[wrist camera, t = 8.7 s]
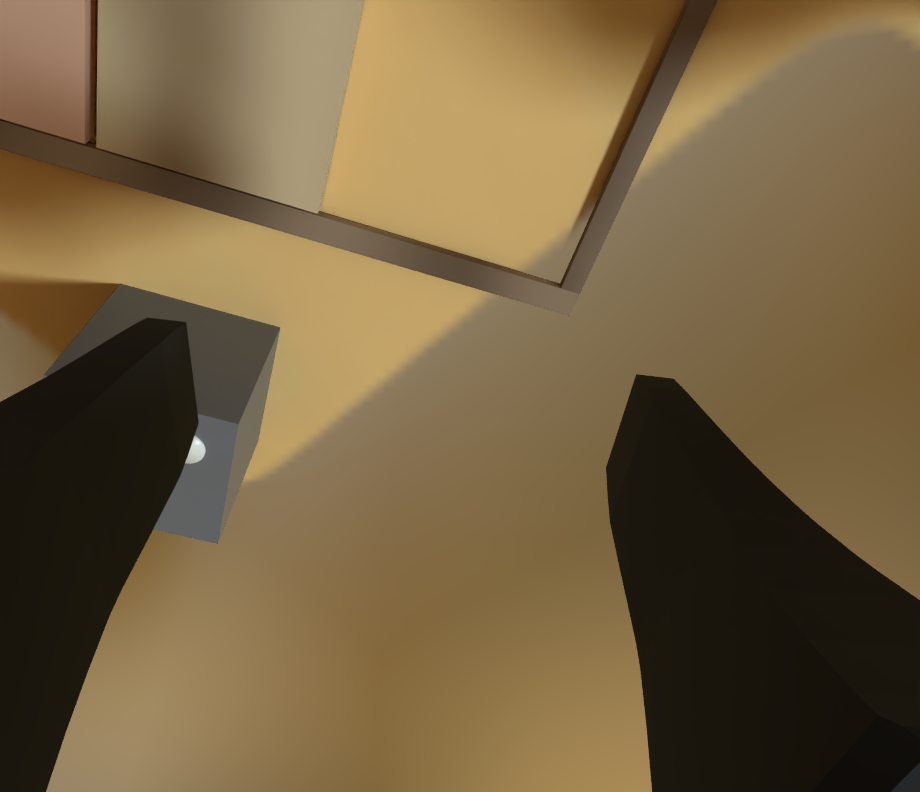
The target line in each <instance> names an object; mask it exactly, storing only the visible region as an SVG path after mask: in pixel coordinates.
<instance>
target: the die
mask: <svg viewBox="0 0 920 792" xmlns="http://www.w3.org/2000/svg"><path fill="white" fill-rule="evenodd" d="M145 318H156V319H165V320H173V321H182V322H186V323H187V332H188V340H189V348H190V356H191V364H192V372H193V380H194V388H195V396H196V404H197V412H198V420H199V424H198V427H197V430H196V433H195V436H194V439H193V442H192V445H191V448H190V451H189V454H188V457H187V459H186V462H185V465H184V468H183V470H182V473H181V476H180V478H179V480H178V482H177V484H176V486H175V488H174V490H173V492H172V494H171V496H170V498H169V500H168V502H167V503H166V505H165V507H164V509H163V511H162V513H161V515H160V517H159V519H158V521H157V523H156V525H155V527H154V529H155V530H159V531H164V532H168V533H172V534H177V535H181V536H186V537H190V538H195V539H199V540H203V541H208V542H213V543H217V544H218V543H219V540H220V537H221V535H222V532H223V530H224V527H225V524H226V522H227V519H228V517H229V514H230V512H231V509H232V506H233V504H234V501H235V499H236V496H237V493H238V491H239V488H240V486H241V483H242V481H243V478H244V475H245V473H246V470H247V468H248V465H249V463H250V460H251V457H252V455H253V452H254V450H255V447H256V445H257V442H258V439H259V434H260V429H261V424H262V418H263V413H264V408H265V403H266V398H267V393H268V388H269V383H270V378H271V373H272V367H273V362H274V357H275V352H276V347H277V342H278V337H279V332H280V327H276V326H273V325H269V324H265V323H262V322H258V321H254V320H251V319H247V318H244V317H240V316H236V315H233V314H229V313H225V312H222V311H218V310H214V309H211V308H207V307H204V306H200V305H196V304H193V303H189V302H185V301H182V300H178V299H175V298H171V297H167V296H164V295H160V294H156V293H153V292H149V291H146V290H142V289H138V288H135V287H131V286H127V285H124V284H120V285H119V286H118V287H117V289H116V290H115V291H114V292H113V293H112V294H111V296H110V297H109V298H108V299H107V300H106V302H105V303H104V304H103V305H102V306H101V308H100V309H99V310H98V311H97V312H96V314H95V315H94V316H93V317H92V318H91V319H90V321H89V322H88V323H87V324H86V325H85V327H84V328H83V329H82V330H81V331H80V333H79V334H78V335H77V336H76V337H75V338H74V340H73V341H72V342H71V343H70V344H69V346H68V347H67V348H66V349H65V350H64V352H63V353H62V354H61V355H60V356H59V357H58V359H57V360H56V361H55V362H54V363H53V365H52V366H51V367H50V368H49V369H48V371H47V372H46V373H45V374H44V378H45V377H47V376H49V375H50V374H52V373H54V372H56V371H57V370H59V369H61V368H62V367H64V366H66V365H67V364H69V363H71V362H72V361H74V360H76V359H77V358H79V357H81V356H82V355H84V354H86V353H87V352H89V351H91V350H92V349H94V348H96V347H97V346H99V345H100V344H102V343H104V342H105V341H107V340H109V339H110V338H112V337H114V336H115V335H117V334H119V333H120V332H122V331H124V330H125V329H127V328H129V327H130V326H132V325H134V324H136V323H138V322H140V321H141V320H143V319H145Z"/></svg>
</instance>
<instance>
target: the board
mask: <svg viewBox="0 0 920 792" xmlns="http://www.w3.org/2000/svg"><path fill="white" fill-rule="evenodd" d="M716 2H717V0H687V1H686V3H685V6H684V8H683V10H682V12H681V15H680V17H679V19H678V21H677V23H676V26H675V28H674V30H673V32H672V35H671V37H670V39H669V41H668V44H667V46H666V48H665V50H664V53H663V55H662V57H661V59H660V62H659V64H658V66H657V68H656V70H655V73H654V75H653V77H652V79H651V82H650V84H649V86H648V88H647V91H646V93H645V95H644V97H643V100H642V102H641V104H640V106H639V109H638V111H637V113H636V115H635V118H634V120H633V122H632V124H631V126H630V129H629V131H628V133H627V135H626V138H625V140H624V142H623V144H622V147H621V149H620V151H619V153H618V156H617V158H616V160H615V162H614V165H613V167H612V169H611V171H610V173H609V176H608V178H607V180H606V182H605V185H604V187H603V189H602V191H601V194H600V196H599V198H598V200H597V203H596V205H595V207H594V209H593V212H592V214H591V216H590V218H589V220H588V223H587V225H586V227H585V229H584V232H583V234H582V236H581V238H580V241H579V243H578V245H577V248H576V250H575V252H574V254H573V256H572V259H571V261H570V263H569V265H568V268H567V270H566V272H565V274H564V277H563V279H562V281H561V283H560V284H559V283H556V282H553V281H549V280H546V279H543V278H539V277H536V276H533V275H529V274H526V273H523V272H519V271H516V270H513V269H509V268H506V267H503V266H499V265H496V264H493V263H489V262H486V261H483V260H479V259H476V258H473V257H469V256H466V255H463V254H459V253H456V252H453V251H449V250H446V249H443V248H439V247H436V246H433V245H429V244H426V243H423V242H419V241H416V240H413V239H410V238H406V237H403V236H400V235H396V234H393V233H390V232H386V231H383V230H380V229H376V228H373V227H370V226H366V225H363V224H360V223H356V222H353V221H350V220H346V219H343V218H340V217H336V216H333V215H330V214H326V213H323V212H320V211H319V210H320V208H321V206H322V201H323V196H324V192H325V187H326V182H327V177H328V172H329V168H330V163H331V158H332V153H333V148H334V144H335V139H336V134H337V129H338V124H339V119H340V115H341V110H342V105H343V100H344V95H345V91H346V86H347V81H348V76H349V71H350V67H351V62H352V57H353V52H354V47H355V43H356V38H357V33H358V28H359V23H360V19H361V14H362V9H363V4H364V0H98V44H97V135H96V144H93V143H90V142H88V141H89V140H91V139H92V138H93V137H94V127H95V20H96V0H0V149H3V150H6V151H10V152H13V153H17V154H20V155H23V156H27V157H30V158H34V159H37V160H40V161H44V162H47V163H51V164H54V165H57V166H61V167H64V168H68V169H71V170H74V171H78V172H81V173H85V174H88V175H91V176H95V177H98V178H102V179H105V180H108V181H112V182H115V183H119V184H122V185H125V186H129V187H132V188H136V189H139V190H142V191H146V192H149V193H153V194H156V195H159V196H163V197H166V198H170V199H173V200H176V201H180V202H183V203H187V204H190V205H194V206H197V207H200V208H204V209H207V210H211V211H214V212H217V213H221V214H224V215H228V216H231V217H234V218H238V219H241V220H245V221H248V222H251V223H255V224H258V225H262V226H265V227H268V228H272V229H275V230H279V231H282V232H285V233H289V234H292V235H296V236H299V237H302V238H306V239H309V240H313V241H316V242H319V243H323V244H326V245H330V246H333V247H336V248H340V249H343V250H347V251H350V252H353V253H357V254H360V255H364V256H367V257H371V258H374V259H377V260H381V261H384V262H388V263H391V264H394V265H398V266H401V267H405V268H408V269H411V270H415V271H418V272H422V273H425V274H428V275H432V276H435V277H439V278H442V279H445V280H449V281H452V282H456V283H459V284H462V285H466V286H469V287H473V288H476V289H479V290H483V291H486V292H490V293H493V294H496V295H500V296H503V297H507V298H510V299H513V300H517V301H520V302H524V303H527V304H530V305H534V306H538V307H541V308H544V309H547V310H551V311H554V312H558V313H561V314H565V315H568V316H570V313H571V311H572V309H573V307H574V305H575V303H576V301H577V299H578V296H579V294H580V292H581V290H582V288H583V286H584V284H585V281H586V279H587V277H588V275H589V273H590V271H591V269H592V266H593V264H594V262H595V260H596V258H597V256H598V254H599V252H600V250H601V247H602V245H603V243H604V241H605V239H606V237H607V235H608V232H609V230H610V228H611V226H612V224H613V222H614V219H615V218H616V215H617V213H618V211H619V209H620V207H621V205H622V202H623V201H624V198H625V196H626V194H627V192H628V190H629V188H630V186H631V183H632V181H633V179H634V177H635V175H636V173H637V171H638V169H639V166H640V164H641V162H642V160H643V158H644V156H645V154H646V152H647V149H648V147H649V145H650V143H651V141H652V139H653V137H654V134H655V132H656V130H657V128H658V126H659V124H660V122H661V120H662V117H663V115H664V113H665V111H666V109H667V107H668V105H669V103H670V100H671V98H672V96H673V94H674V92H675V90H676V88H677V85H678V83H679V81H680V79H681V77H682V75H683V73H684V71H685V68H686V66H687V64H688V62H689V60H690V58H691V56H692V54H693V51H694V49H695V47H696V45H697V43H698V41H699V39H700V36H701V34H702V32H703V30H704V28H705V26H706V24H707V22H708V19H709V17H710V15H711V13H712V11H713V9H714V7H715V5H716Z"/></svg>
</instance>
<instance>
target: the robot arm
mask: <svg viewBox="0 0 920 792" xmlns="http://www.w3.org/2000/svg"><path fill="white" fill-rule="evenodd" d="M198 424H199V420H198V412H197V404H196V396H195V388H194V380H193V372H192V364H191V356H190V348H189V340H188V332H187V323H186V322H182V321H173V320H165V319H156V318H145V319H143V320H141V321H140V322H138V323H136V324H134V325H132V326H130V327H129V328H127V329H125V330H124V331H122V332H120V333H119V334H117V335H115V336H114V337H112V338H110V339H109V340H107V341H105V342H104V343H102V344H100V345H99V346H97V347H96V348H94V349H92V350H91V351H89V352H87V353H86V354H84V355H82V356H81V357H79V358H77V359H76V360H74V361H72V362H71V363H69V364H67V365H66V366H64V367H62V368H61V369H59V370H57V371H56V372H54V373H52V374H50V375H49V376H47V377H45V378H44V379H42V380H40V381H38V382H36V383H35V384H33V385H31V386H29V387H27V388H25V389H24V390H22V391H20V392H18V393H16V394H14V395H12V396H11V397H9V398H7V399H5V400H3V401H1V402H0V792H46V790H47V787H48V784H49V781H50V777H51V775H52V772H53V769H54V766H55V763H56V760H57V757H58V754H59V751H60V748H61V745H62V742H63V739H64V736H65V732H66V730H67V727H68V725H69V722H70V719H71V716H72V714H73V711H74V708H75V705H76V702H77V699H78V697H79V694H80V691H81V689H82V686H83V683H84V680H85V678H86V675H87V672H88V670H89V667H90V664H91V662H92V659H93V657H94V654H95V651H96V649H97V646H98V644H99V641H100V639H101V636H102V633H103V631H104V628H105V626H106V623H107V621H108V618H109V616H110V613H111V611H112V609H113V607H114V605H115V603H116V600H117V598H118V596H119V594H120V592H121V590H122V588H123V586H124V584H125V582H126V580H127V578H128V576H129V574H130V573H131V571H132V569H133V567H134V565H135V562H136V561H137V559H138V557H139V555H140V553H141V551H142V550H143V548H144V546H145V543H146V542H147V540H148V538H149V536H150V534H151V532H152V530H153V529H154V527H155V525H156V523H157V521H158V519H159V517H160V515H161V513H162V511H163V509H164V507H165V505H166V503H167V502H168V500H169V498H170V496H171V494H172V492H173V490H174V488H175V486H176V484H177V482H178V480H179V478H180V476H181V473H182V470H183V468H184V465H185V462H186V459H187V457H188V454H189V451H190V448H191V445H192V442H193V439H194V436H195V433H196V430H197V427H198ZM606 474H607V491H608V504H609V515H610V524H611V529H612V534H613V539H614V543H615V548H616V552H617V557H618V562H619V567H620V571H621V576H622V580H623V585H624V589H625V594H626V599H627V603H628V608H629V612H630V617H631V621H632V626H633V631H634V635H635V640H636V645H637V651H638V657H639V663H640V670H641V679H642V688H643V697H644V706H645V716H646V725H647V735H648V747H649V759H650V771H651V782H652V792H920V600H919V599H917V598H916V597H914V596H913V595H911V594H910V593H908V592H907V591H905V590H904V589H903V588H901V587H900V586H899V585H897V584H896V583H894V582H893V581H891V580H890V579H888V578H887V577H885V576H884V575H883V574H881V573H880V572H878V571H877V570H876V569H874V568H873V567H872V566H870V565H869V564H868V563H866V562H865V561H863V560H862V559H861V558H859V557H858V556H857V555H856V554H854V553H853V552H852V551H850V550H849V549H848V548H847V547H845V546H844V545H843V544H842V543H841V542H839V541H838V540H837V539H836V538H834V537H833V536H832V535H831V534H829V533H828V532H827V531H826V530H824V529H823V528H822V527H821V526H819V525H818V524H817V523H816V522H814V520H812V519H811V518H810V517H809V516H808V515H807V514H805V513H804V512H803V511H802V510H801V509H800V508H799V507H798V506H797V505H795V504H794V503H793V502H792V501H791V500H790V499H789V498H788V497H787V496H786V495H785V494H784V493H783V492H781V490H779V489H778V488H777V487H776V486H775V485H774V484H773V483H772V482H771V481H770V480H769V479H768V478H767V477H766V476H765V475H764V474H763V473H762V472H761V471H760V470H759V469H758V468H757V467H756V466H754V464H753V463H752V462H751V461H750V460H749V459H748V458H747V457H746V456H745V455H744V454H743V453H742V452H741V451H740V450H739V449H738V448H737V447H736V445H735V444H734V443H733V442H732V441H731V440H730V439H729V438H728V437H727V436H726V435H725V434H724V433H723V432H722V430H721V429H720V428H719V427H718V426H717V425H716V424H715V423H714V422H713V421H712V419H711V418H710V417H709V416H708V415H707V414H706V413H705V412H704V411H703V410H702V409H701V407H700V406H699V405H698V404H697V403H696V402H695V401H694V400H693V399H692V397H690V395H689V394H688V393H687V392H686V391H685V390H684V389H683V388H682V387H681V386H680V385H679V384H678V383H677V382H676V381H675V380H674V379H671V378H662V377H654V376H645V375H636V377H635V380H634V384H633V386H632V389H631V393H630V396H629V399H628V402H627V405H626V408H625V411H624V414H623V417H622V421H621V423H620V426H619V430H618V433H617V436H616V439H615V442H614V445H613V448H612V451H611V454H610V458H609V460H608V464H607V467H606Z"/></svg>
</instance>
